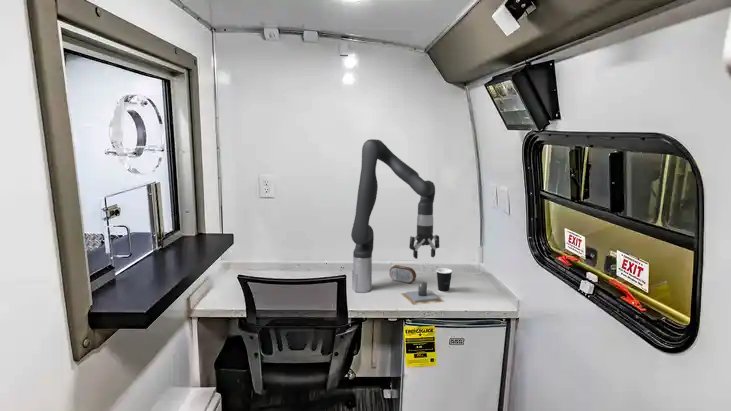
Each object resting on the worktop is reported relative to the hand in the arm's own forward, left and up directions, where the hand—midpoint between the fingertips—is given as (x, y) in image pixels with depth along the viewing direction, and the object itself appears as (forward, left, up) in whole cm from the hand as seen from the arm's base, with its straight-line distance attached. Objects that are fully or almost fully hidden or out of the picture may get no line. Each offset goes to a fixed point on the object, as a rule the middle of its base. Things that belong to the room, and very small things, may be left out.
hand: (424, 257), depth 219 cm
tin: (0, +27, -20) cm, 34 cm away
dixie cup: (+14, +6, -20) cm, 25 cm away
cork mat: (0, 0, -20) cm, 20 cm away
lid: (0, 0, -20) cm, 20 cm away
